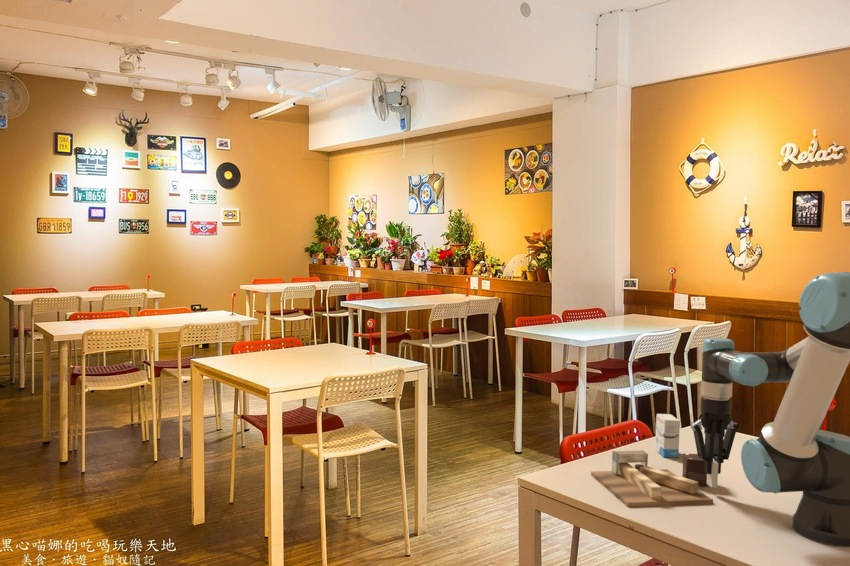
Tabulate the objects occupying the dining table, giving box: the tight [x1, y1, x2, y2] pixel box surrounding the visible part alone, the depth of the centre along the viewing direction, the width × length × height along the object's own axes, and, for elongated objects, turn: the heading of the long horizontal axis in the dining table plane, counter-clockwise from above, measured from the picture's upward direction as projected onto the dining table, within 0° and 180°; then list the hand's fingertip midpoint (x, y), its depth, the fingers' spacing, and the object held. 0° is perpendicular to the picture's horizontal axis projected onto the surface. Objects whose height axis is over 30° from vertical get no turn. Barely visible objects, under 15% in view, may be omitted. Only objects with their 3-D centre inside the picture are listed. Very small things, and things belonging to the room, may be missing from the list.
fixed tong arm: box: [618, 463, 661, 499], centre depth 190 cm, size 22×2×3 cm, turn 9°
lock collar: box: [611, 450, 649, 475], centre depth 199 cm, size 3×9×6 cm, turn 99°
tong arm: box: [634, 463, 699, 494], centre depth 191 cm, size 18×2×3 cm, turn 39°
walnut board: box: [590, 469, 714, 508], centre depth 190 cm, size 24×23×1 cm
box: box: [681, 453, 709, 487], centre depth 196 cm, size 6×6×7 cm
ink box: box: [654, 413, 681, 458], centre depth 222 cm, size 8×5×12 cm, turn 179°
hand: (711, 485), depth 186 cm, fingers closed
